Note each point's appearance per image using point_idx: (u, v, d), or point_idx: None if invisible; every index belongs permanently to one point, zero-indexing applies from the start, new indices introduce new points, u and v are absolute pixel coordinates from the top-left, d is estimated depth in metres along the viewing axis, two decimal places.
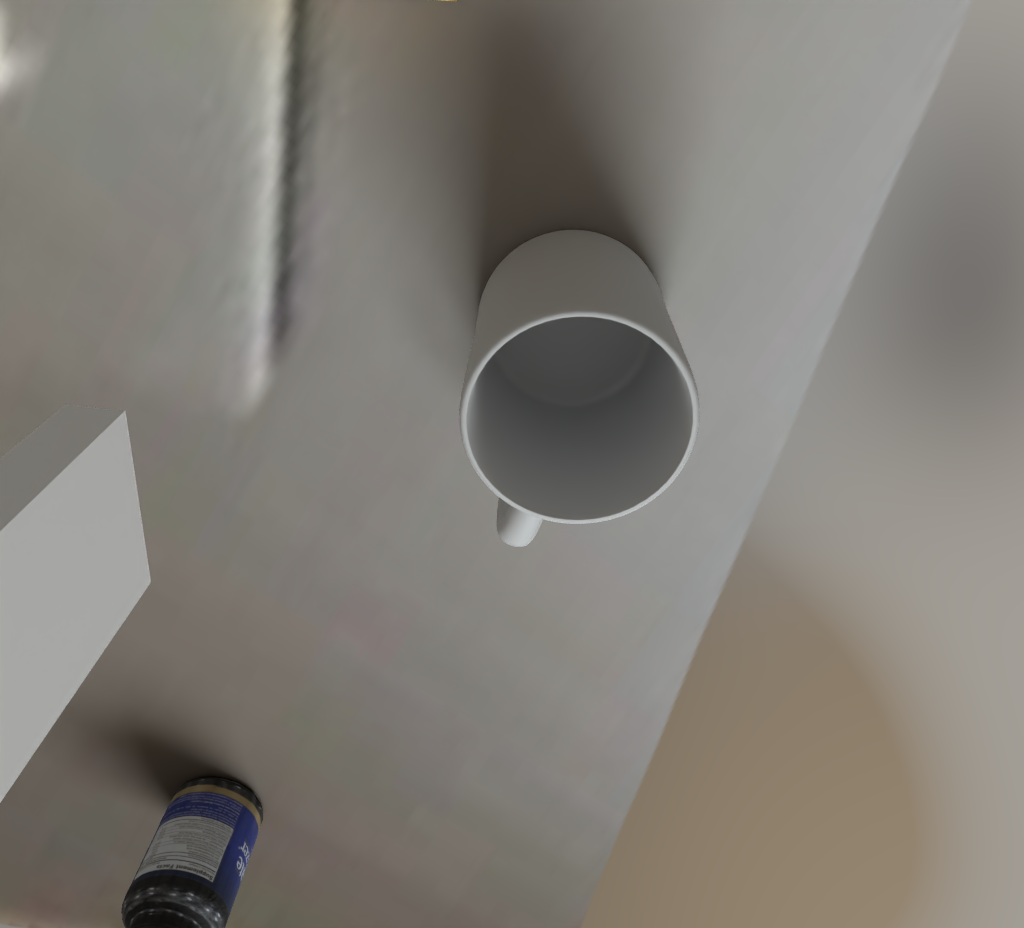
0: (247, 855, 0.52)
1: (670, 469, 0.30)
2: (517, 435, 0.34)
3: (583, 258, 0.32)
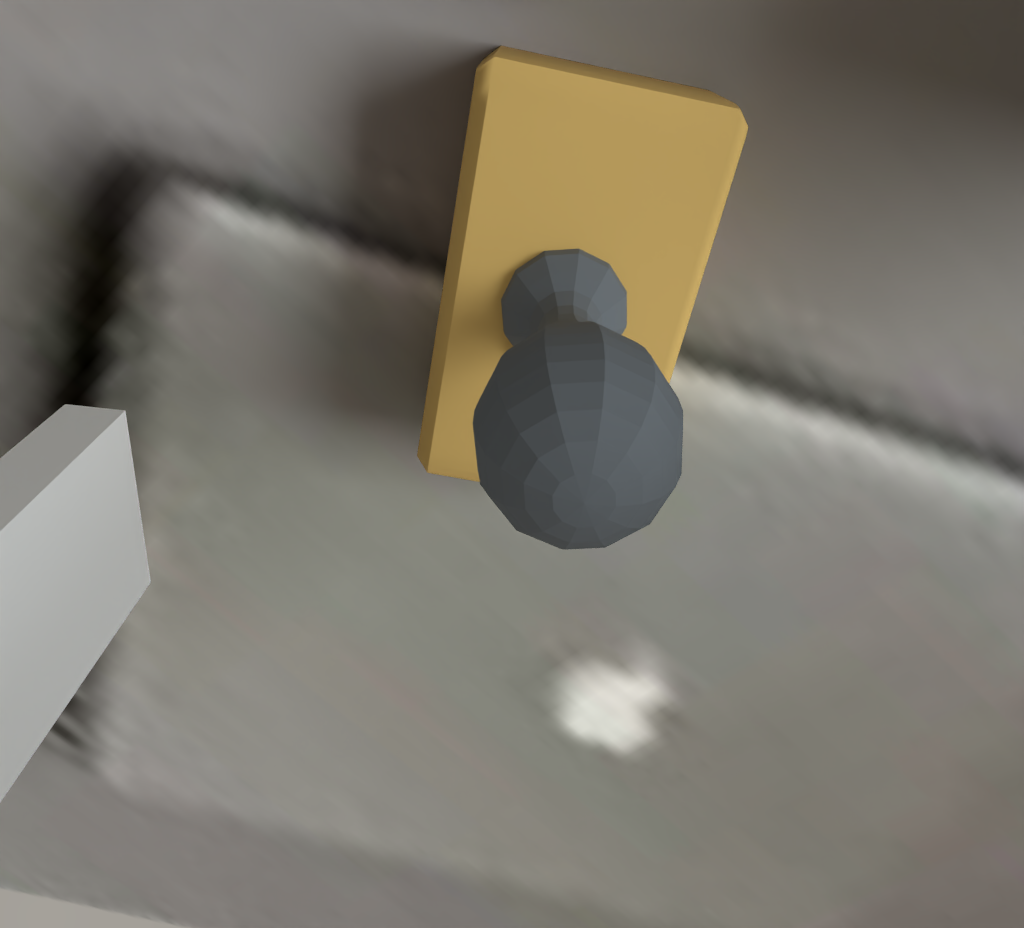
0: None
1: None
2: None
3: None
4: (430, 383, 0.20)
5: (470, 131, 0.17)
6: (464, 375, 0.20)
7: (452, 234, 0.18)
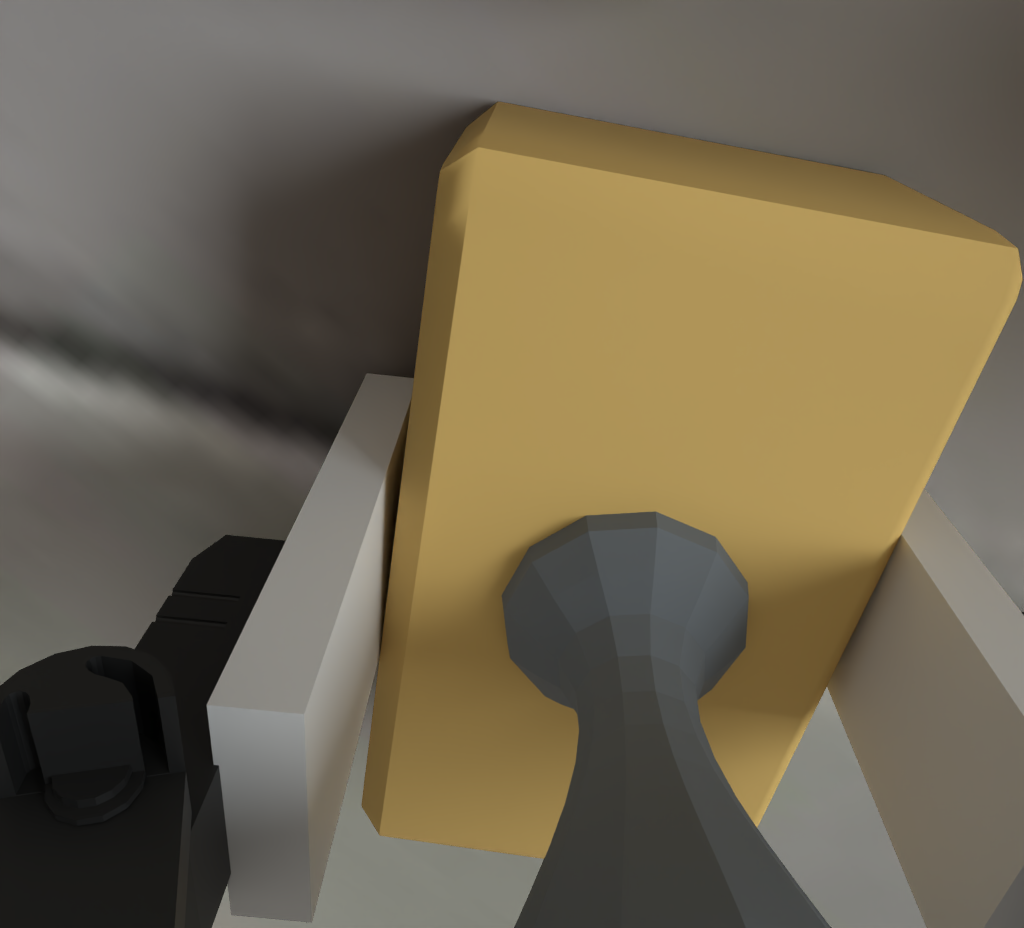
0: None
1: None
2: None
3: None
4: (377, 712, 0.11)
5: (431, 296, 0.08)
6: (437, 709, 0.11)
7: (404, 480, 0.09)
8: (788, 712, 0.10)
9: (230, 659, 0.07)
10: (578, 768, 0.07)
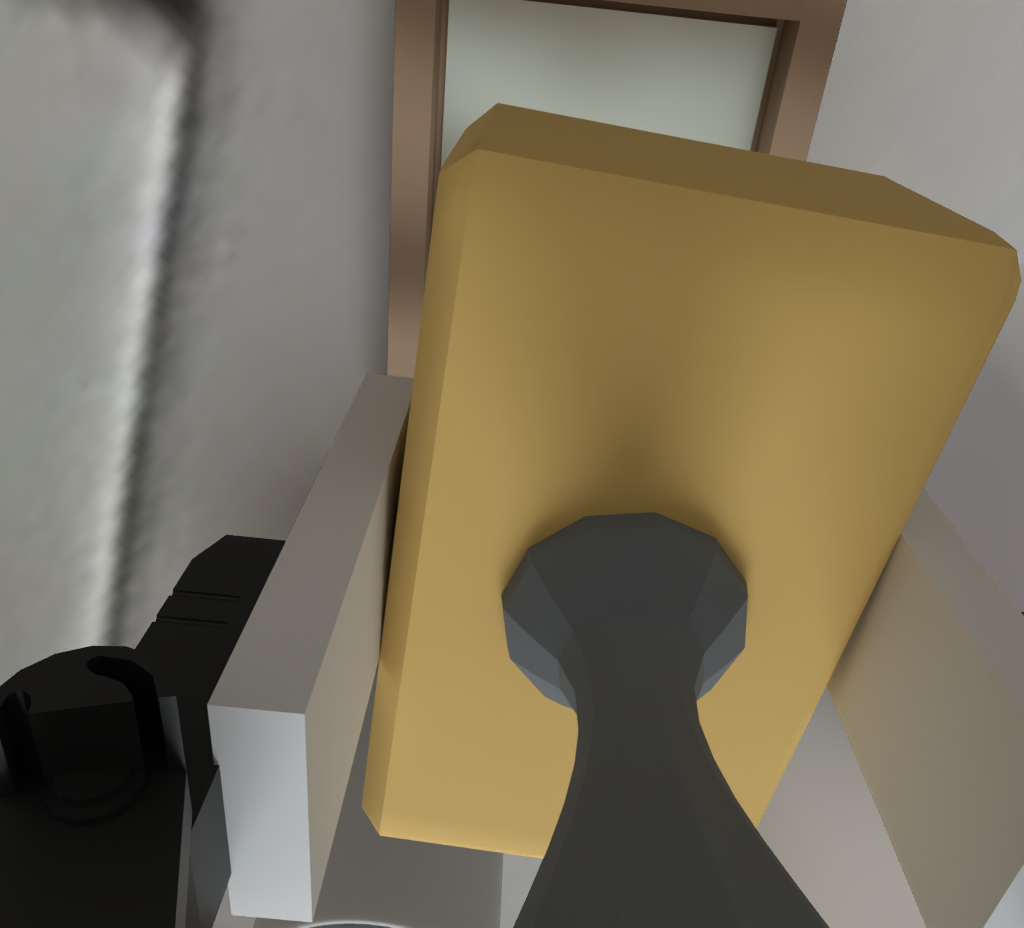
0: None
1: None
2: None
3: None
4: (376, 712, 0.11)
5: (431, 297, 0.08)
6: (436, 710, 0.11)
7: (404, 481, 0.09)
8: (787, 712, 0.10)
9: (231, 659, 0.07)
10: (577, 768, 0.07)
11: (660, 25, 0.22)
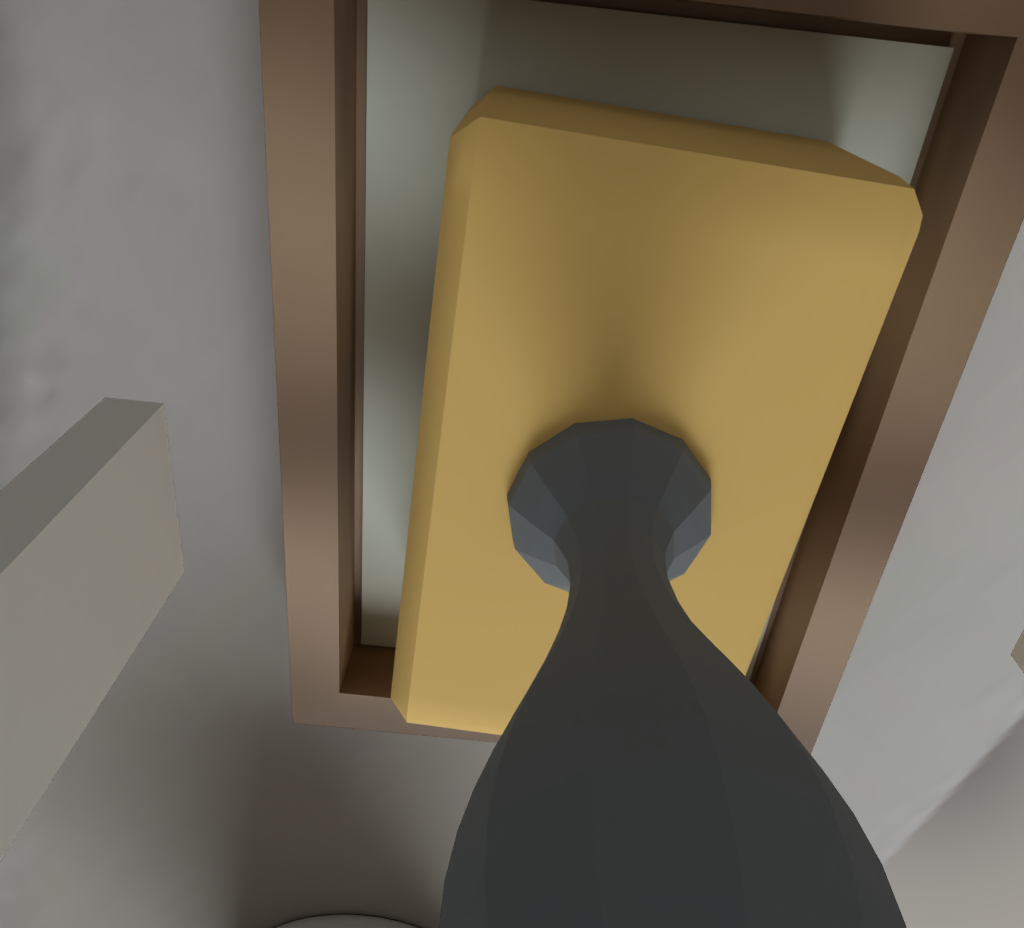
0: None
1: None
2: None
3: None
4: (403, 607, 0.13)
5: (444, 240, 0.10)
6: (454, 601, 0.13)
7: (424, 398, 0.11)
8: (751, 596, 0.12)
9: None
10: (568, 608, 0.09)
11: (744, 42, 0.12)
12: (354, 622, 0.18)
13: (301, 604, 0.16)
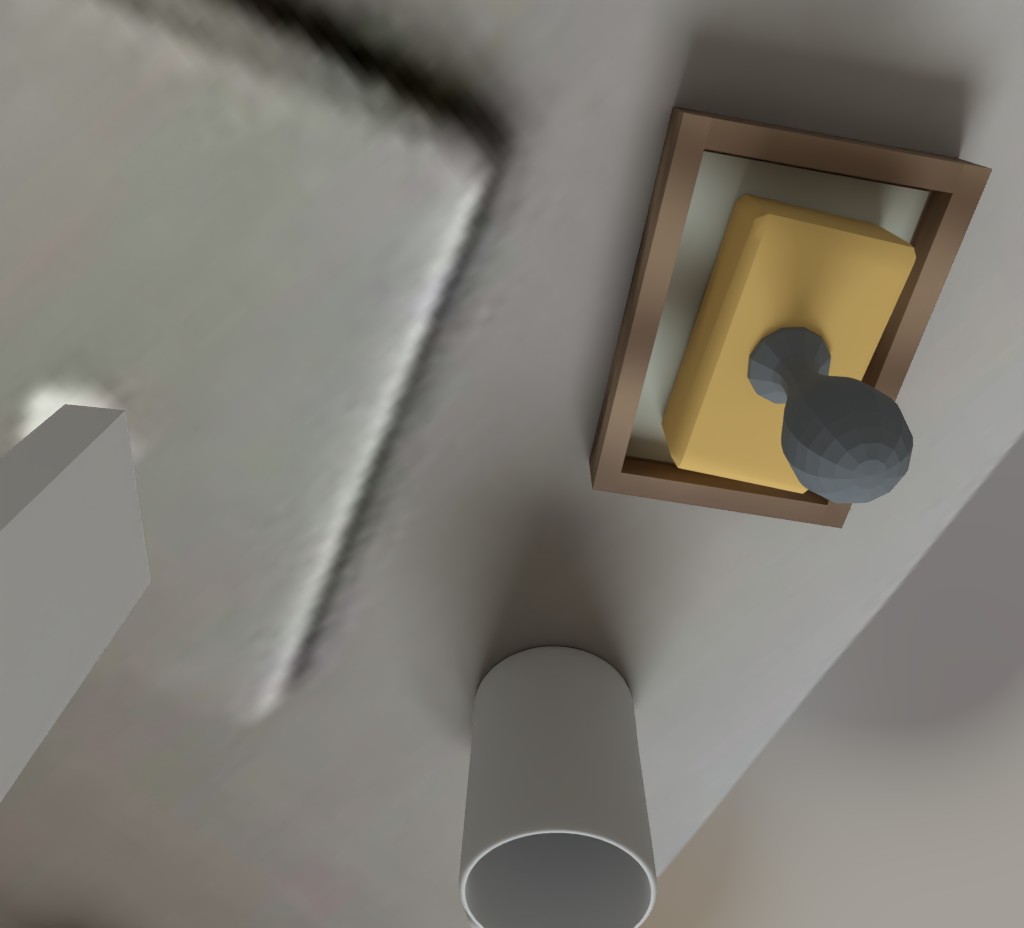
0: None
1: (623, 927, 0.36)
2: None
3: (580, 717, 0.38)
4: (690, 408, 0.31)
5: (745, 255, 0.28)
6: (716, 403, 0.30)
7: (722, 315, 0.29)
8: None
9: None
10: (790, 384, 0.27)
11: (847, 183, 0.30)
12: None
13: (615, 422, 0.33)
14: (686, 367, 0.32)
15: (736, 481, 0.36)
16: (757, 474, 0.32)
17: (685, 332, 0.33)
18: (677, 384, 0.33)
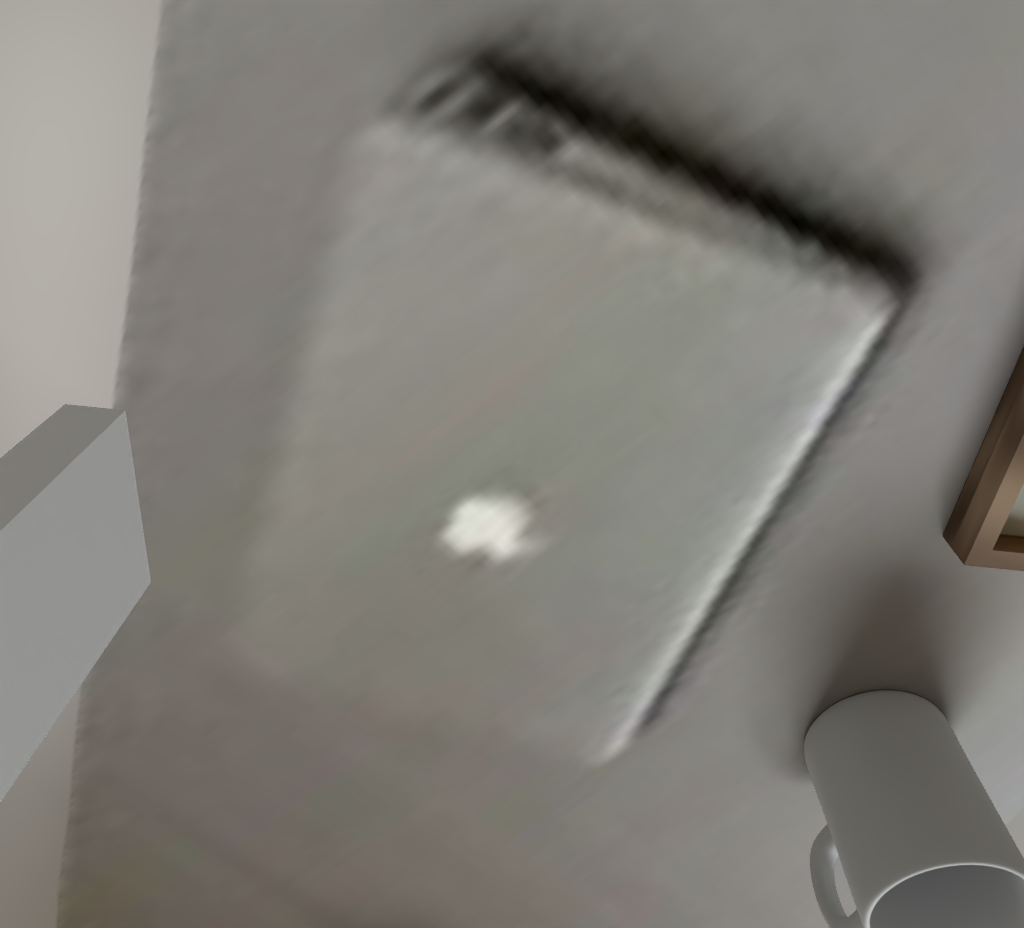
0: None
1: None
2: None
3: (938, 758, 0.43)
4: None
5: None
6: None
7: None
8: None
9: None
10: None
11: None
12: None
13: (994, 509, 0.39)
14: None
15: None
16: None
17: None
18: None
